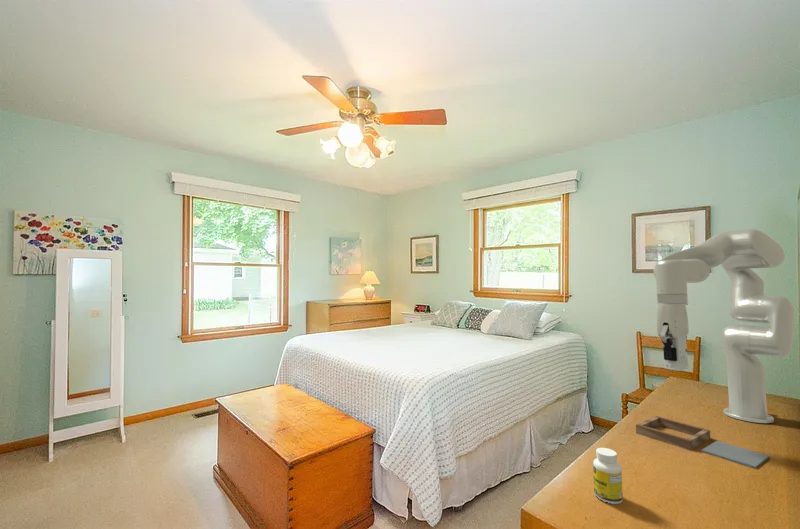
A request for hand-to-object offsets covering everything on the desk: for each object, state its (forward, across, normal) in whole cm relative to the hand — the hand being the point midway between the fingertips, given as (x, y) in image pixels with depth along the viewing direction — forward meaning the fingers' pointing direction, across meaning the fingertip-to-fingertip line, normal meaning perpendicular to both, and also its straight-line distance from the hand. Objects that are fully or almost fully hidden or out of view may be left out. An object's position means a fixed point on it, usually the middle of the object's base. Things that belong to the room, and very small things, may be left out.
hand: (675, 358), depth 111 cm
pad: (+24, +1, +13) cm, 27 cm away
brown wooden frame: (+24, +1, -2) cm, 24 cm away
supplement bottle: (+23, +50, +6) cm, 55 cm away
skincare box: (+3, 0, 0) cm, 3 cm away
